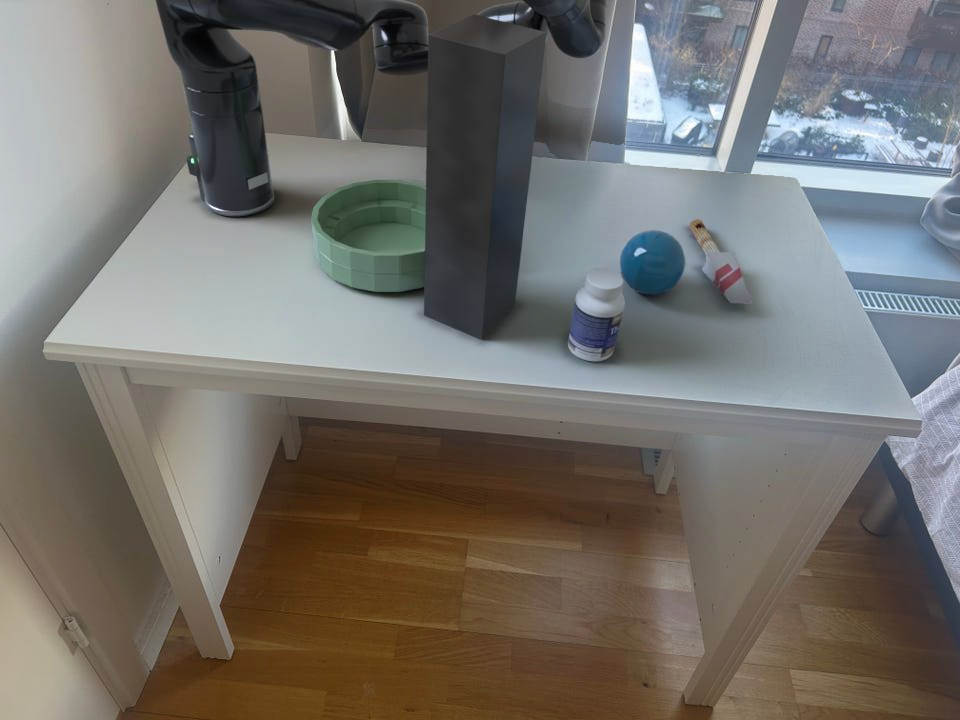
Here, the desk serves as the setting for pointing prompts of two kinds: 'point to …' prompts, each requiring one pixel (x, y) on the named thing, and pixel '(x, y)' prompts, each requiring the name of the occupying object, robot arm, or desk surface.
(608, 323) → the pill bottle
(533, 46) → the pedestal
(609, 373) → the desk surface
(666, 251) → the ball
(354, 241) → the bowl
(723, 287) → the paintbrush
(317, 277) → the desk surface
